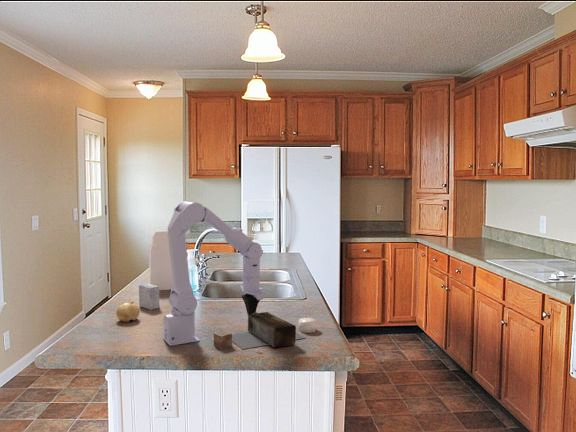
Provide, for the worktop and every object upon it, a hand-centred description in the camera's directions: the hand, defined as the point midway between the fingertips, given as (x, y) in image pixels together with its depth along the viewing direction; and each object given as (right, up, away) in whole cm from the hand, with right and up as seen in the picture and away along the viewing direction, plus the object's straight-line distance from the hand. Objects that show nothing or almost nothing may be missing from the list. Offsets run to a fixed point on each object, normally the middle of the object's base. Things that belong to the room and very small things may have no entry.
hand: (251, 315), depth 173 cm
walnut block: (-8, -6, -17) cm, 19 cm away
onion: (-45, -4, +9) cm, 46 cm away
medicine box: (-42, -2, +27) cm, 50 cm away
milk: (-45, +1, +61) cm, 76 cm away
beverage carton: (+7, -5, -10) cm, 13 cm away
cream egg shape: (+19, -5, -1) cm, 20 cm away
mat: (+5, -5, -9) cm, 11 cm away
